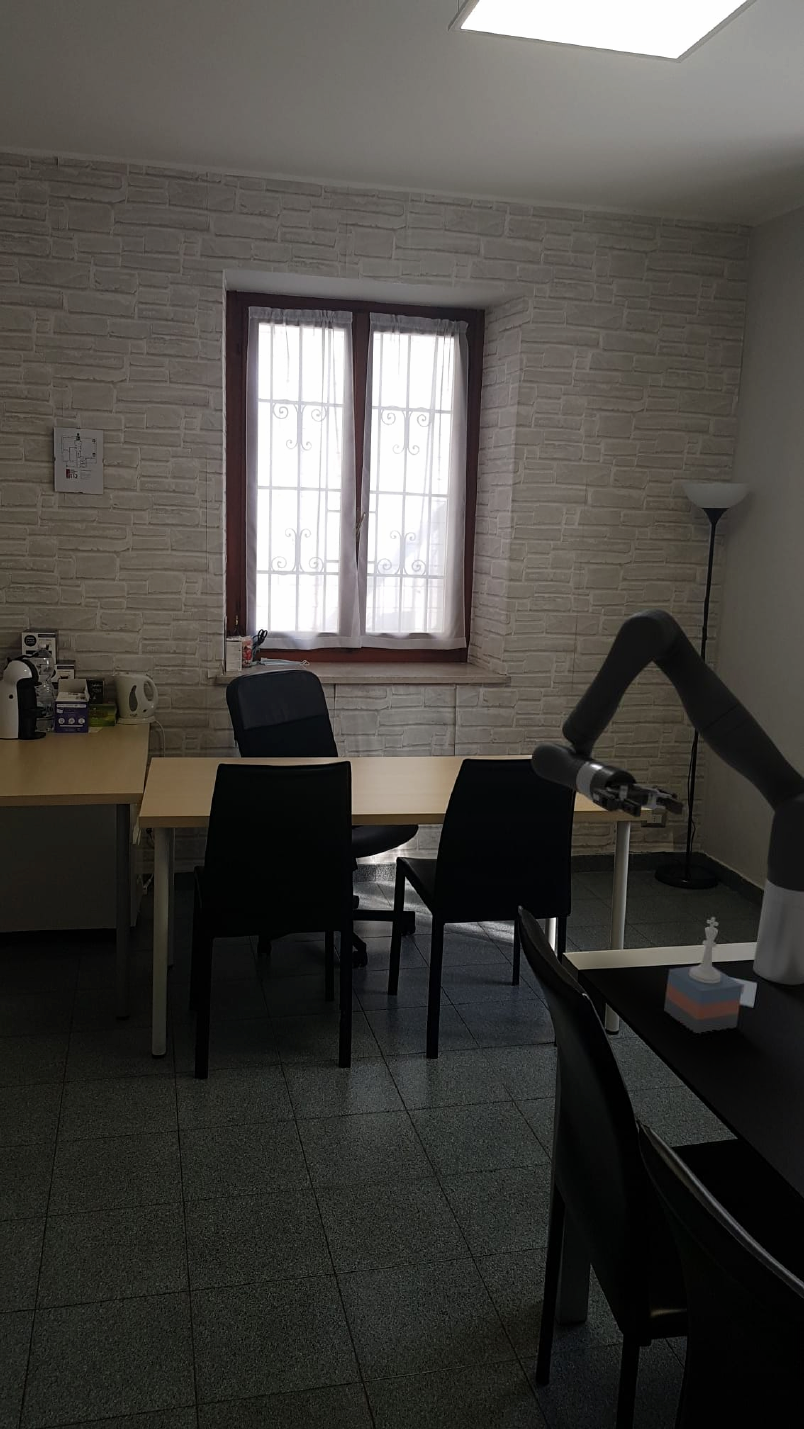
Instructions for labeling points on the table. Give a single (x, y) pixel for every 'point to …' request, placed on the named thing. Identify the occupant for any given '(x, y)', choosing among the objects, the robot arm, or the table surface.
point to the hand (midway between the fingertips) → (660, 810)
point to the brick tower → (702, 1001)
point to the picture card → (747, 992)
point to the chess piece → (707, 958)
